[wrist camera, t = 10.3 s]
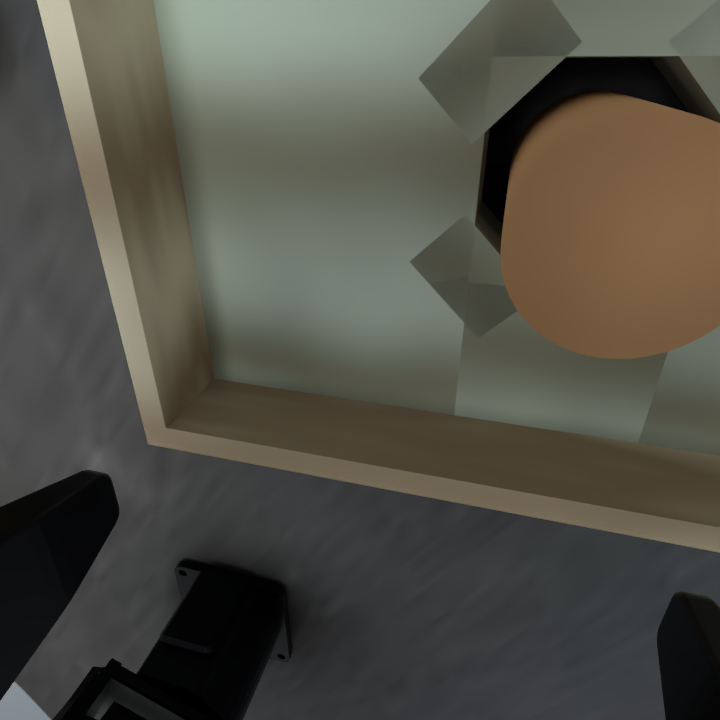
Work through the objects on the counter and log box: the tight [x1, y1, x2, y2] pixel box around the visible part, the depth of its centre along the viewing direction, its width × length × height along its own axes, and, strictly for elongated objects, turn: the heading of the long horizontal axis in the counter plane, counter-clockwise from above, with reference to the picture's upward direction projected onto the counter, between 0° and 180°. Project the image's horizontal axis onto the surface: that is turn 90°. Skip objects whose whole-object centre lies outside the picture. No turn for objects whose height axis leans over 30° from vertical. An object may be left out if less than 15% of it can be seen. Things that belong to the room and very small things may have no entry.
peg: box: [500, 89, 720, 359], centre depth 12 cm, size 4×4×8 cm
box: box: [37, 0, 720, 552], centre depth 13 cm, size 16×24×6 cm, turn 90°
